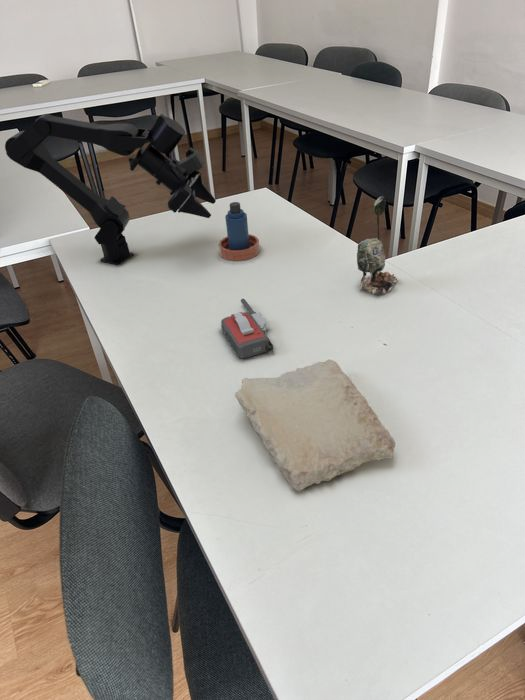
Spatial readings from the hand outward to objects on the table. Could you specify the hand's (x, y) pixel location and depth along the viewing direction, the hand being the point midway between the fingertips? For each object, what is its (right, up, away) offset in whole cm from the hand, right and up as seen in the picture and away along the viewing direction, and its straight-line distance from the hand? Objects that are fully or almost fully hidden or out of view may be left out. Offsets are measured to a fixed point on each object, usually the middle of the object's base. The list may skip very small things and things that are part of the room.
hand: (212, 209), depth 131 cm
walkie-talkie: (+9, -32, -22) cm, 40 cm away
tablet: (+20, -48, -46) cm, 69 cm away
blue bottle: (+6, -9, +7) cm, 13 cm away
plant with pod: (+38, -21, -12) cm, 45 cm away
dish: (+7, -10, +7) cm, 14 cm away
